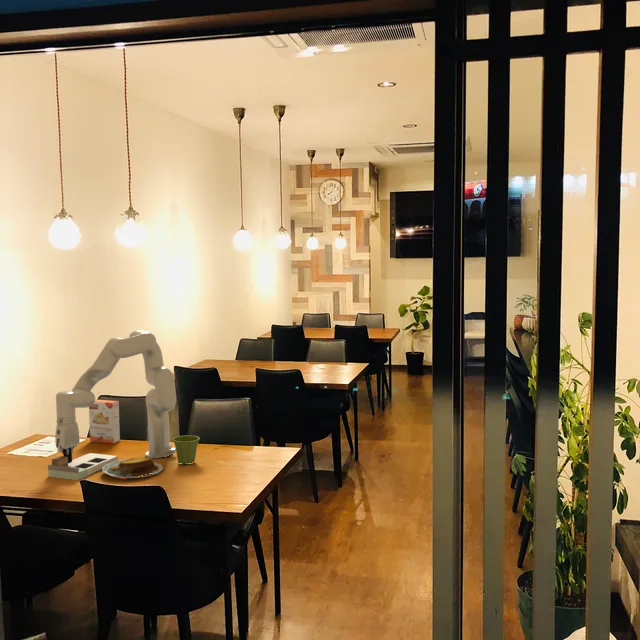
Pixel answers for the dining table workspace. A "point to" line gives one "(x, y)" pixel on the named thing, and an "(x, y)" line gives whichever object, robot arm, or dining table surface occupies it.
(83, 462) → the box
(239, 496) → the dining table surface
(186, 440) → the plant pot
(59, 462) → the walnut block
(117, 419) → the cracker box
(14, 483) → the dining table surface
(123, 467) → the food on plate
